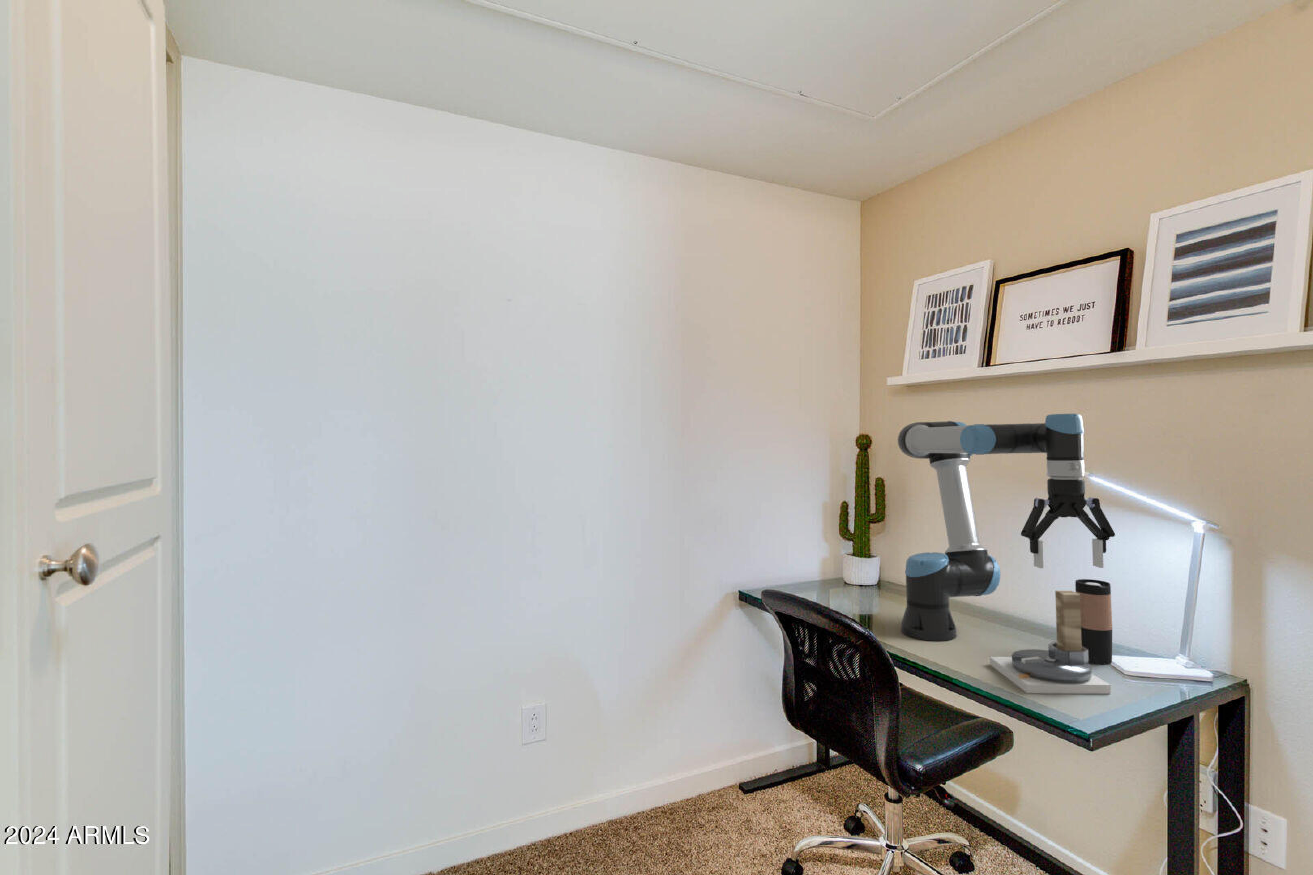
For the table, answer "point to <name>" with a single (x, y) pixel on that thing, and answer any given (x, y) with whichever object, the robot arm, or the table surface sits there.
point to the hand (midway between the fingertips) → (1068, 567)
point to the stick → (1068, 620)
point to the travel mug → (1096, 619)
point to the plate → (1048, 681)
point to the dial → (1054, 663)
